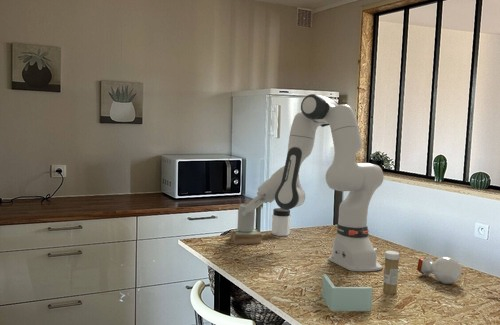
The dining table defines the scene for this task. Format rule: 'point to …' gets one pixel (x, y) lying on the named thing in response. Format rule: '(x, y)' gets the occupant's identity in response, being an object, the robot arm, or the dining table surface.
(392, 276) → the sprinkles bottle
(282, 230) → the jar
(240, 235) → the picture frame
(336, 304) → the right angle wall
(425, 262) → the potion bottle
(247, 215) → the can
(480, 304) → the dining table surface
